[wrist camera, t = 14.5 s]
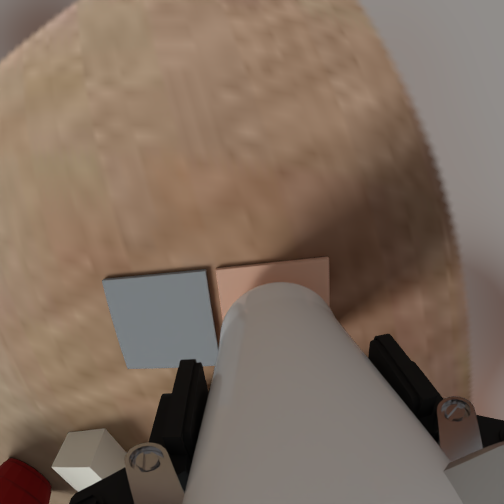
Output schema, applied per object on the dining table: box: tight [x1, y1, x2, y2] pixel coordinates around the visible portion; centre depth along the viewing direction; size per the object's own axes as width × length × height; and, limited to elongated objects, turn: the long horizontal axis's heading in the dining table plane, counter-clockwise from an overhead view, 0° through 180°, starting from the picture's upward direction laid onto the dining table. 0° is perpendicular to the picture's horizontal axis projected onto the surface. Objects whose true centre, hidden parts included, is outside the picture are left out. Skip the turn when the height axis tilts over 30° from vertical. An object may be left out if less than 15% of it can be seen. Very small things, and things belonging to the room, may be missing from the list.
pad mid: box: [102, 269, 219, 369], centre depth 16 cm, size 6×6×1 cm
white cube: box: [52, 428, 127, 492], centre depth 18 cm, size 4×4×4 cm
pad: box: [216, 257, 330, 320], centre depth 16 cm, size 6×6×1 cm
